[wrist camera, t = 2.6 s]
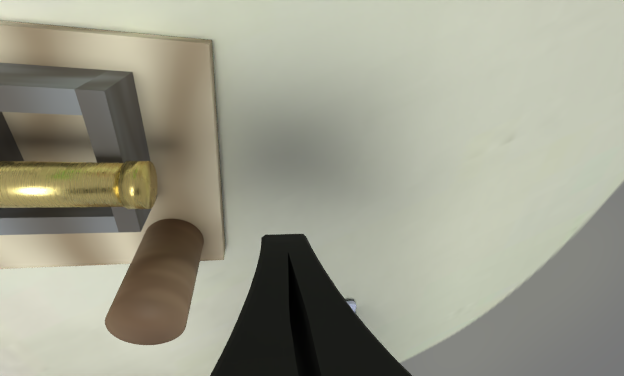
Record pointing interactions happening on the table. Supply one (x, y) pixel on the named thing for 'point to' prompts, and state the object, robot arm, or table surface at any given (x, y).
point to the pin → (77, 184)
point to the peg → (158, 285)
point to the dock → (108, 136)
